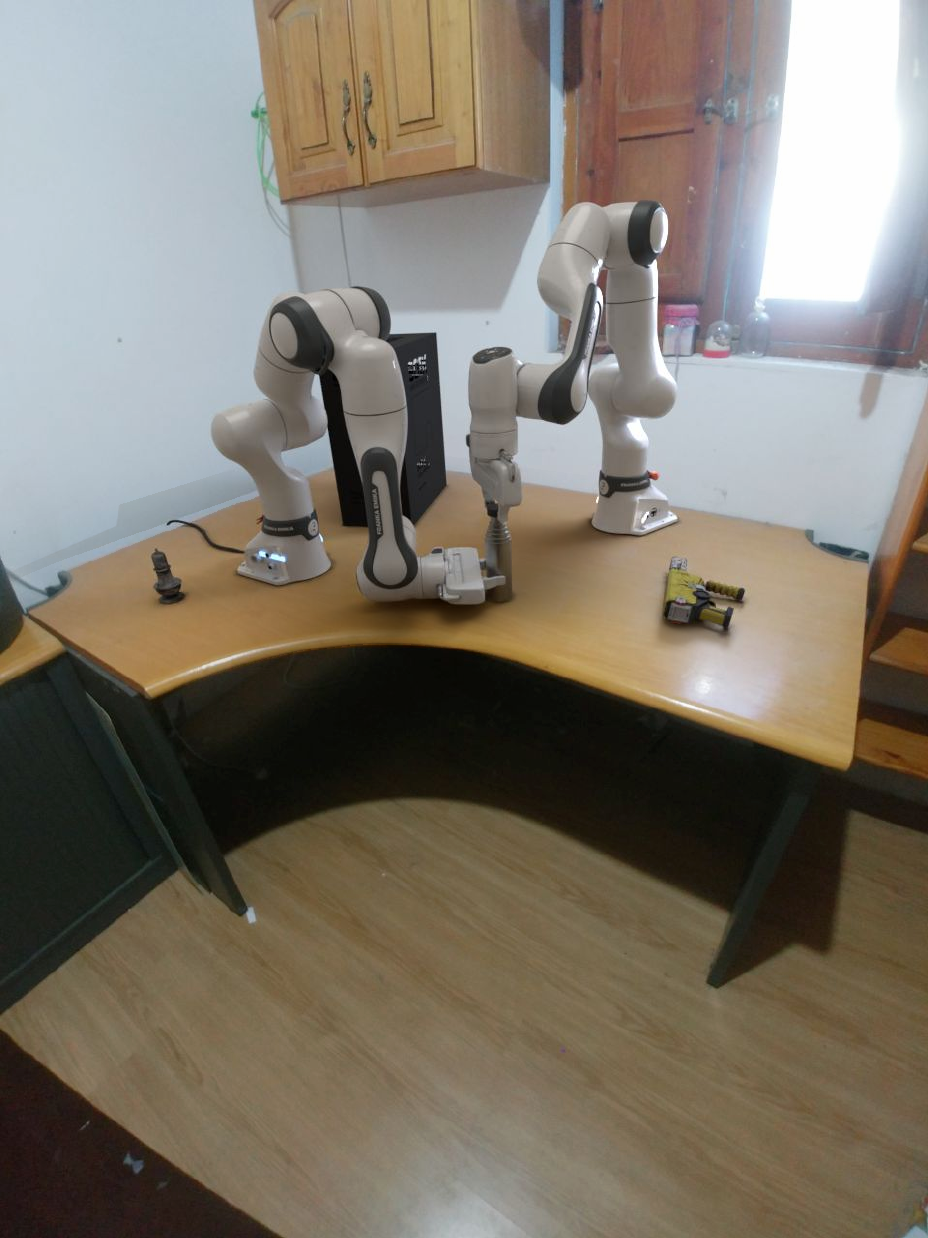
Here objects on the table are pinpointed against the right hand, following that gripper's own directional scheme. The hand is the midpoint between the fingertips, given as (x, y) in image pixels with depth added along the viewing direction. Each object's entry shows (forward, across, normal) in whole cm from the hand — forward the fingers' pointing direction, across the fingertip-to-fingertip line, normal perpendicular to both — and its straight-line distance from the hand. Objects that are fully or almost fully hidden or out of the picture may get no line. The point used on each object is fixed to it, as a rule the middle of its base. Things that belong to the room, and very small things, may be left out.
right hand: (496, 514), depth 119 cm
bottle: (+18, 0, 0) cm, 18 cm away
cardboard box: (+18, +67, +9) cm, 70 cm away
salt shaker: (+18, +26, +68) cm, 75 cm away
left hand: (+12, 0, -1) cm, 13 cm away
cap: (-1, 0, 0) cm, 1 cm away
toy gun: (+18, -18, -38) cm, 45 cm away
